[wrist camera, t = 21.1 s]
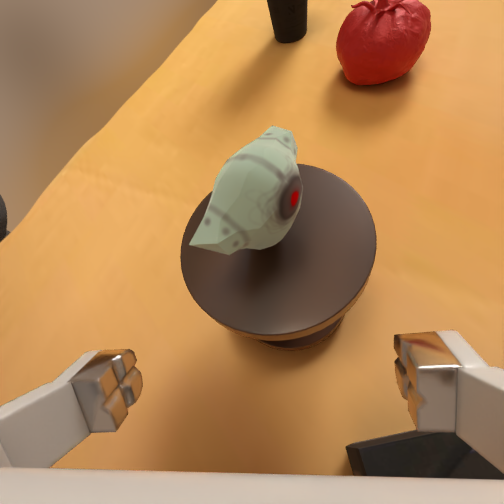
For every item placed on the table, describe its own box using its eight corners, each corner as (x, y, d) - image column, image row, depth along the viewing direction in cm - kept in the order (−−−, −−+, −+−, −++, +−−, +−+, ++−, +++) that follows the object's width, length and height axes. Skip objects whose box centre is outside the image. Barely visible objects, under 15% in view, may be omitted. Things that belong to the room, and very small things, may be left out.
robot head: (273, 180, 21) (253, 87, 15) (331, 197, 19) (333, 101, 13) (210, 278, 18) (155, 214, 12) (270, 308, 16) (239, 250, 11)
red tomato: (423, 91, 35) (452, -5, 27) (334, 99, 38) (337, 14, 30) (415, 41, 40) (438, -54, 32) (336, 52, 42) (338, -33, 34)
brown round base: (222, 366, 25) (169, 341, 17) (226, 242, 31) (188, 176, 22) (372, 360, 23) (399, 328, 15) (347, 228, 29) (356, 149, 20)
